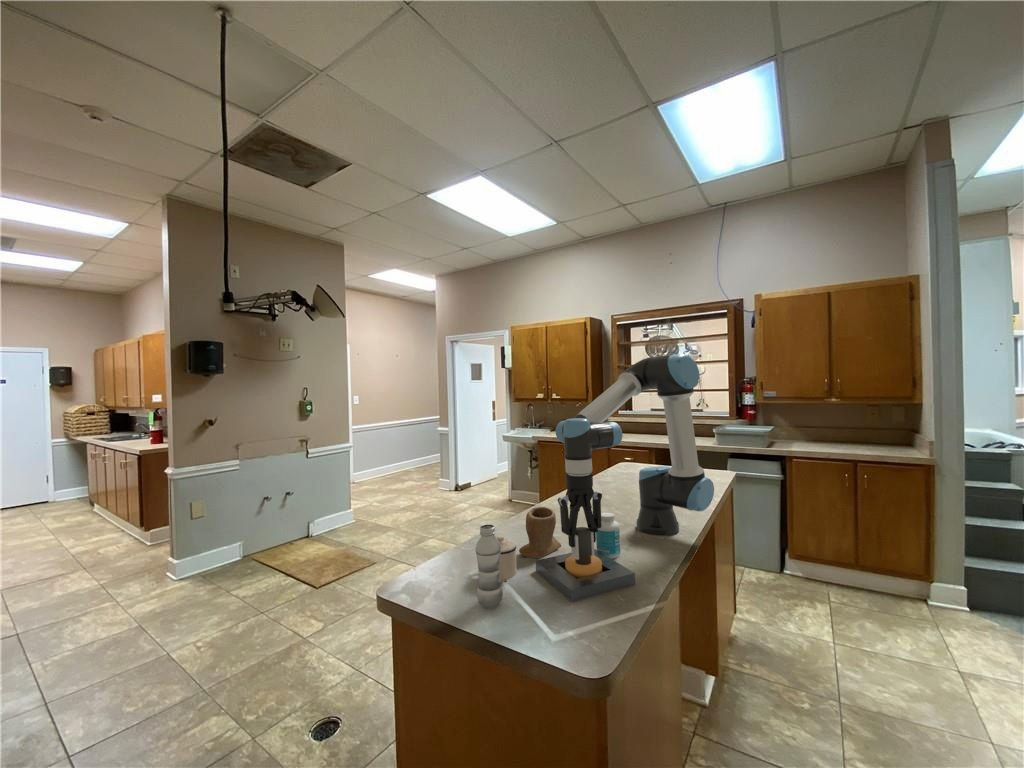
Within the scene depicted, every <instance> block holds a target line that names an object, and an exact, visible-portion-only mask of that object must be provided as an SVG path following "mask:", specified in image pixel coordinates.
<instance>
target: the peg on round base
mask: <svg viewBox="0 0 1024 768" xmlns="http://www.w3.org/2000/svg"><path fill="white" fill-rule="evenodd" d="M575 534H576V535H577V536H578V546H579V559H578V560H576V559H575V558H573V557H572V556H570V557H568V558H567V559H566V560H565V567H566V571H567V572H568V573H570V574H571V575H572V576H574V577H575V578H576V579H577V578H581V577H585V576H589V575H593V574H597V573H601V572H602V561H601V560H600V559H599V558H598V557H595V556H591V546H590V529H589V528H588V527H584V526H581V527H580V526H579V527H576V533H575Z"/></svg>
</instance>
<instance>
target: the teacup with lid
mask: <svg viewBox="0 0 1024 768" xmlns="http://www.w3.org/2000/svg"><path fill="white" fill-rule="evenodd" d="M496 538H497V539H498V541H499V542H500V545H501V554H500V580H501V583H507V581H508V579H511V578H514V577H515V576H516V575H517V571H518V569H517V550H516V549H517V545H516V543H515V542H514V541H513V540H510V539H507V538H505V537H504V536H503V535H498V536H496Z"/></svg>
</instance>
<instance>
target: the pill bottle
mask: <svg viewBox="0 0 1024 768" xmlns="http://www.w3.org/2000/svg"><path fill="white" fill-rule="evenodd" d="M615 517H616V516H615V514H614V513H612V512H601V528H598V531H597V532H596V542H595V543H596V550H597V551H599V552H600V553H602V554H604V555H605V556H607V557H609V558H611V559H612V560H614V559H617V558H620V557H621V539H620V538H621V534H620V524H619V523H618V521H616V520H615Z"/></svg>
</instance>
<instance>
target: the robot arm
mask: <svg viewBox="0 0 1024 768" xmlns="http://www.w3.org/2000/svg"><path fill="white" fill-rule="evenodd" d="M699 380H700V370H699V367H698V365H697V362H696V361H695V360H694V359H693V358H692V357H691V356H690V355H688V354H685V353H681V354H677V353H676V354H675V353H674V354H668V355H661V356H660V355H659V356H649V357H645V358H643V359H641V360H638V361H637V362H636V363H634V364H632V365H631V366H629V367H628V368H627V369H625V370H624V371H622V372H621V374H619V375H618V378H617V380H616V381H615V382H614V383H613V384H612V385H611V386H610V387H608V388H607V389H606V390H605V391H603V392H602V393H601V394H600V395H598V396H597V397H596V398H595V399H594V400H593V401H592V402H590V403H589V404H588V405H587V406H585V407H584V408H583V409H582V410H580V412H579V413H577V414H576V415H575V416H574V417H571V418H568V419H565V420H561V421H560V422H558V423H557V426H556V427H555V436H556V438H557V440H558V441H559V442H561V443H563V445H564V446H563V447H564V449H563V450H564V462H565V463H564V464H565V473H566V474H565V485H566V493H565V495H564V496H563V497H558V498H557V502H558V503H557V504H558V505H559V513H560V525H561V526H560V530H561V532H562V533H563V534H565V535H566V536H568V537H567V538H568V546H569V547H571V548H570V549H571V552H570V553H572V557H573V558H575V559H576V560H578V559H579V546H578V536H577V535H576V534H575V533H576V528H577V524H578V517H579V512H580V509H581V508H582V510H583V514H584V517H585V521H586V526H587V528H589V529H590V546H591V556H595V555H594V549H595V543H596V532H597V531H598V528H601V513H602V506H601V504H602V503H601V502H602V498H603V493H601V492H598V491H594V489H593V487H594V480H593V479H594V477H593V474H592V472H593V461H592V460H593V459H592V458H593V457H592V451H594V450H599V449H607V448H608V449H609V448H610V449H611V448H612V447H616V446H619V445H620V443H621V442H622V440H623V431H622V428H621V426H620V425H619V424H618V423H617V422H615V421H607V419H608V418H610V417H611V416H612V415H613V414H614V413H615V412H616V411H617V410H619V408H621V407H622V406H623V405H624V404H625V403H626V402H628V401H629V400H630V399H631V398H633V397H635V396H639V395H640V394H641V393H642V392H646V391H647V390H648V391H649V390H656V393H657V396H658V397H659V398H660V399H661V400H662V401H663V409H664V417H665V424H666V432H667V439H668V446H669V447H668V448H669V453H670V461H671V466H665V465H664V466H663V465H662V466H650V467H649V466H648V467H644V468H641V469H640V470H639V472H638V485H639V486H638V491H639V502H640V503H639V505H640V509H639V512H638V515H637V519H636V522H635V523H636V524H635V525H636V529H637V531H639V532H641V533H643V534H645V535H651V536H652V535H653V536H658V537H659V536H661V537H662V536H663V537H665V536H672V535H675V534H676V535H677V533H679V532H680V524H679V522H678V519H677V516H676V513H675V511H674V507H676V508H681V509H684V510H688V511H690V512H691V511H695V512H703V511H705V510H707V509H708V508H709V506H710V505H711V504H712V501H713V500H714V495H715V485H714V482H713V481H712V479H711V478H709V477H707V476H706V475H705V470H704V468H703V467H701V466H700V465H699V459H698V451H697V443H696V435H695V427H694V421H693V414H692V404H691V398H690V397H691V396H692V395H693V394H694V393H695V391H694V389H695V387H697V386H698V384H699ZM591 500H592V502H591ZM568 505H569V507H568ZM569 509H570V510H569Z"/></svg>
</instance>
